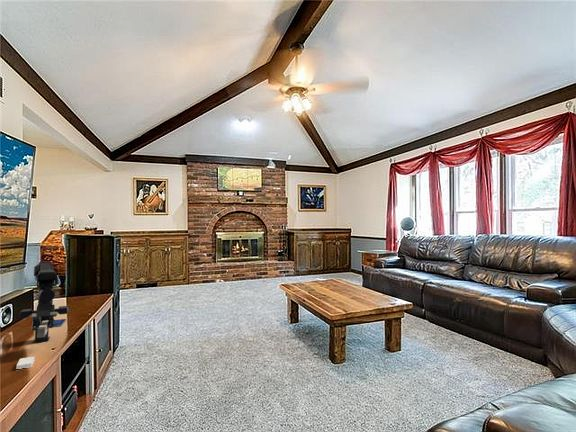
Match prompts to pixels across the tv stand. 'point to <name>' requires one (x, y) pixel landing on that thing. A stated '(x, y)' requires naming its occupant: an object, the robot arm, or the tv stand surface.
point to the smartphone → (59, 322)
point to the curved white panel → (42, 329)
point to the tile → (25, 363)
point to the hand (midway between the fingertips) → (44, 329)
